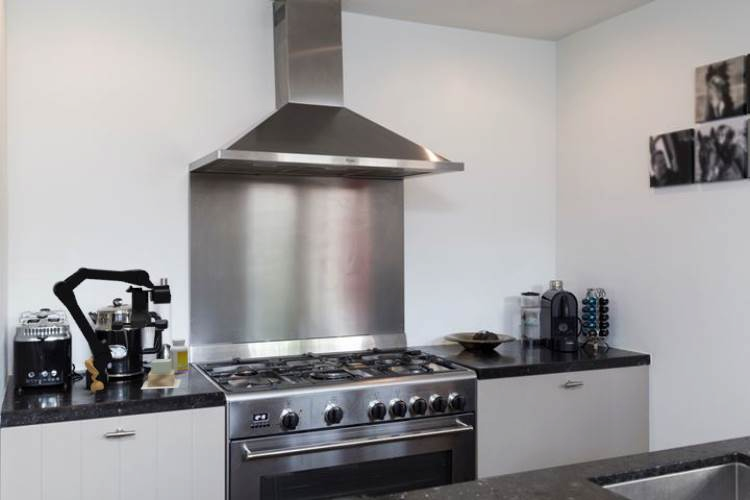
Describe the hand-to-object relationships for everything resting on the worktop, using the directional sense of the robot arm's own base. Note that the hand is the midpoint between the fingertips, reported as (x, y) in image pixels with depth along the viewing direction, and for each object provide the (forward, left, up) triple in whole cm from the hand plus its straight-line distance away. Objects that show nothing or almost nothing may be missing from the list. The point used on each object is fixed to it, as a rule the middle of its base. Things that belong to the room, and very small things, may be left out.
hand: (140, 349), depth 253 cm
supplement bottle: (+12, +16, -12) cm, 23 cm away
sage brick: (+8, -10, -6) cm, 14 cm away
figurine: (-13, -14, -12) cm, 23 cm away
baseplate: (+8, -10, -12) cm, 18 cm away
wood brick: (+8, -10, -10) cm, 17 cm away
